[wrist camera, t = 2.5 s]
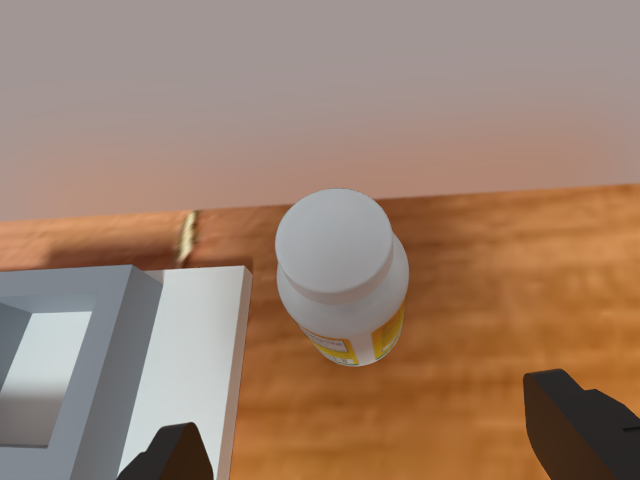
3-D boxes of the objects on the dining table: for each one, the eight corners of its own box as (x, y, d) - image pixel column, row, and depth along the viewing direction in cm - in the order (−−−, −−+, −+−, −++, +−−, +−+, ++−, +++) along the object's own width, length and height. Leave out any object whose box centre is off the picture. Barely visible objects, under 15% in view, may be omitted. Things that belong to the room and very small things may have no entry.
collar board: (252, 275, 23) (224, 242, 19) (225, 511, 17) (175, 533, 13) (-14, 288, 26) (-85, 262, 22) (-112, 490, 20) (-232, 503, 16)
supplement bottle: (319, 379, 19) (262, 334, 11) (300, 287, 22) (244, 195, 14) (418, 353, 19) (439, 287, 11) (387, 263, 22) (384, 155, 13)
